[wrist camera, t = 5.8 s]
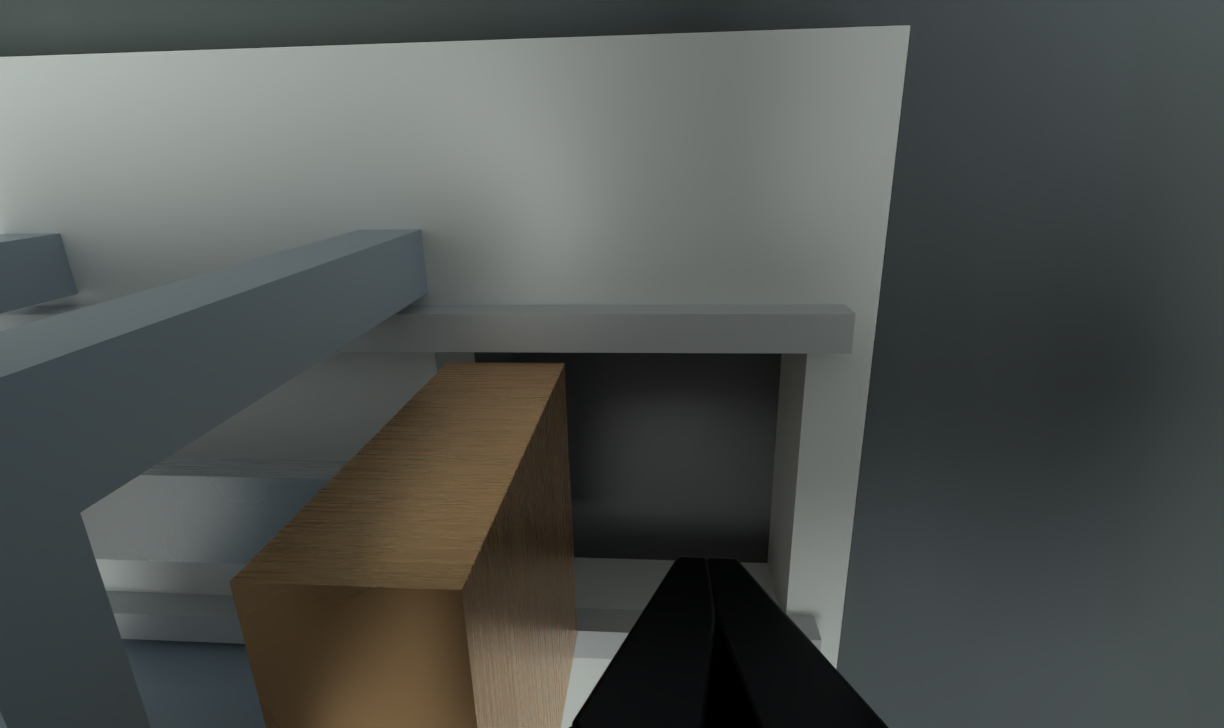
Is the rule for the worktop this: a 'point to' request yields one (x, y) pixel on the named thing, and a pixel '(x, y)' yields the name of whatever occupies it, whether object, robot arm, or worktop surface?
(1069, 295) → the worktop surface
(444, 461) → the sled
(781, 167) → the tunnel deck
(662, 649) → the robot arm
